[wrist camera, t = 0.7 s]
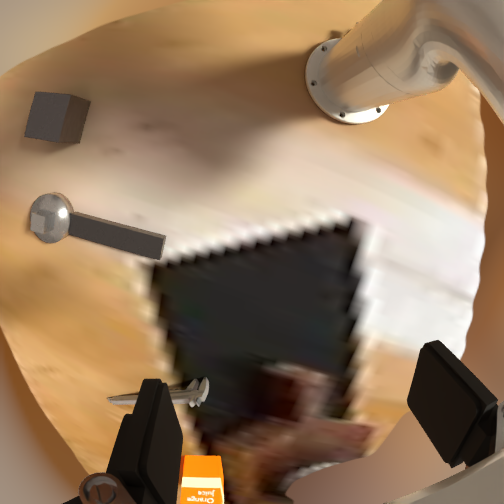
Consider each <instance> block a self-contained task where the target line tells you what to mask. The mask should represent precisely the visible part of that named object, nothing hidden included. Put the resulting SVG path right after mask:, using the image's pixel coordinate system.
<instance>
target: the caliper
mask: <svg viewBox="0 0 504 504" xmlns="http://www.w3.org/2000/svg"><path fill="white" fill-rule="evenodd" d="M198 384H199V381H198V380H197V379H194V380H193V381H192V382H191V384H190V385H189V386H188V387H187V389H186V390H181V389H175V390H172V389H170V390H169V392H170V396H171V399H172V402H173V404H183V403H189V404H190V406H191V407H193V406H194V405H195V404H197V405H198V407H199V406H200V403H201V402H202V401H205V399H206V396H207V394H208V389H209V381H208V379H207V377H204V378H203V380H202V383H201V385H200V387H199V389H198V390H197V388H198ZM137 398H138V395H121V396H114V397H112V398H107V399H108V400H109V402H110V403H113V404H136V401H137Z"/></svg>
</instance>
